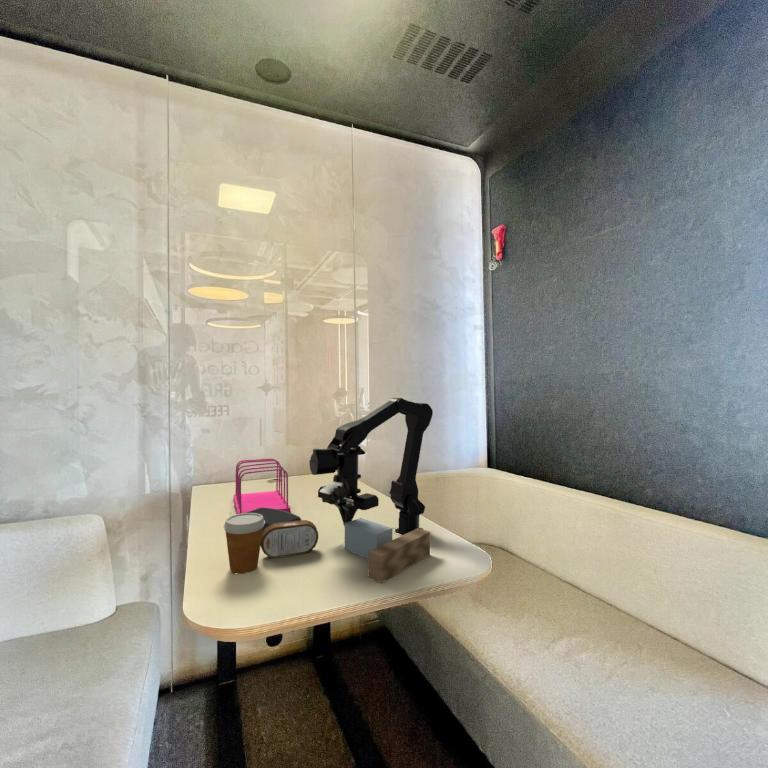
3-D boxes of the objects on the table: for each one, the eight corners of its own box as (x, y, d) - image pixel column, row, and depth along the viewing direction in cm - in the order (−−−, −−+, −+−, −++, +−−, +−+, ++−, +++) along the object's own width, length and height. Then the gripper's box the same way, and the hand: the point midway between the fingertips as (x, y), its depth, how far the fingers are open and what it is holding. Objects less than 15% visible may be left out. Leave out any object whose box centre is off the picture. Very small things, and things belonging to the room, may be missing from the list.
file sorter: (237, 519, 131) (238, 471, 131) (233, 499, 154) (233, 458, 154) (290, 512, 138) (291, 467, 138) (278, 494, 161) (279, 456, 161)
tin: (316, 548, 108) (317, 517, 108) (319, 552, 105) (319, 520, 105) (259, 556, 103) (259, 524, 103) (260, 561, 100) (260, 528, 100)
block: (360, 542, 112) (360, 517, 112) (392, 554, 104) (392, 528, 104) (344, 548, 108) (344, 523, 108) (376, 562, 100) (376, 534, 100)
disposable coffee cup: (216, 567, 96) (217, 518, 96) (253, 556, 103) (254, 509, 103) (233, 581, 89) (233, 528, 89) (271, 568, 96) (272, 518, 96)
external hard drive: (263, 516, 135) (263, 504, 135) (305, 527, 125) (305, 514, 125) (230, 528, 124) (230, 515, 124) (274, 541, 114) (274, 527, 114)
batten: (417, 550, 107) (417, 528, 107) (429, 554, 105) (430, 531, 105) (368, 577, 92) (368, 551, 92) (381, 583, 89) (381, 556, 89)
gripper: (303, 470, 110) (302, 526, 110) (351, 481, 98) (350, 545, 98) (333, 464, 119) (332, 517, 119) (380, 474, 107) (379, 532, 107)
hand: (346, 527), depth 110 cm, fingers closed
